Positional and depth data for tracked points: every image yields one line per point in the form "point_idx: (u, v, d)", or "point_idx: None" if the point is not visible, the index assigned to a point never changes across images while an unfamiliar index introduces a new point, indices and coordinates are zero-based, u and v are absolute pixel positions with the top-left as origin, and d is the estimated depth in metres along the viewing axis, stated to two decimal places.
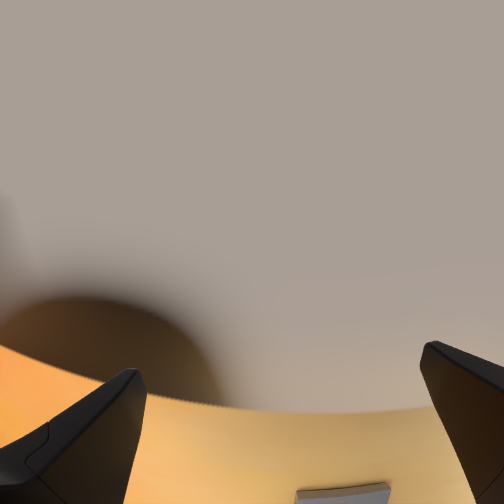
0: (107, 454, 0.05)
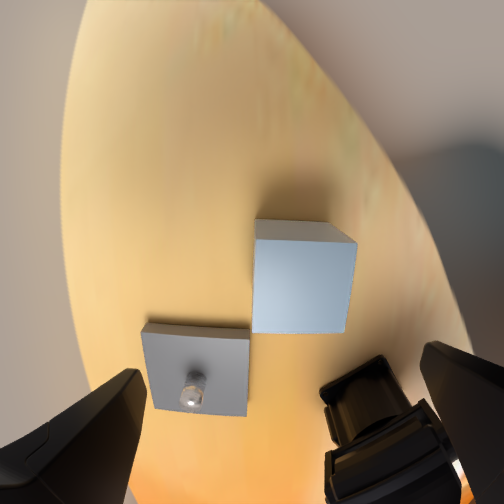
0: (107, 454, 0.05)
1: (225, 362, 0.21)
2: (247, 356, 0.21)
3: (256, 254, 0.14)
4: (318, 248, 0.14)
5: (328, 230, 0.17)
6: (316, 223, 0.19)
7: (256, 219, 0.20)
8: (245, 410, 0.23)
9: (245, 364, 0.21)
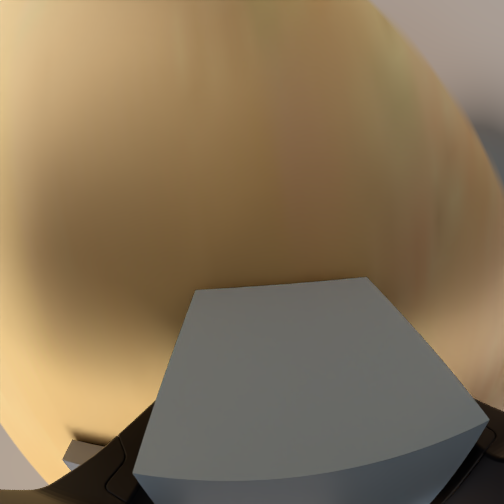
0: None
1: None
2: None
3: (154, 496, 0.03)
4: (368, 475, 0.03)
5: (382, 332, 0.06)
6: (341, 290, 0.08)
7: (198, 292, 0.08)
8: None
9: None
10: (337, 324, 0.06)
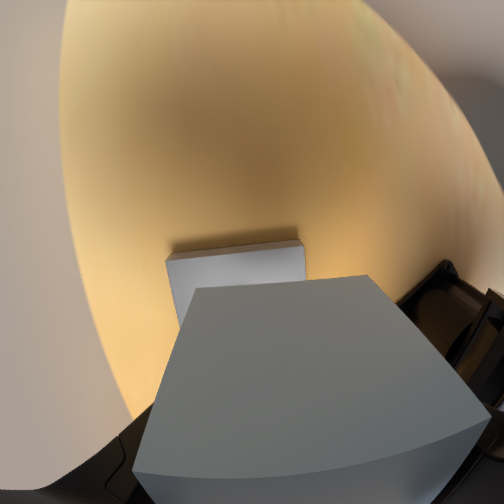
0: None
1: None
2: (303, 270, 0.17)
3: (154, 494, 0.03)
4: (370, 472, 0.03)
5: (383, 329, 0.06)
6: (342, 288, 0.08)
7: (198, 290, 0.08)
8: None
9: None
10: (338, 322, 0.06)
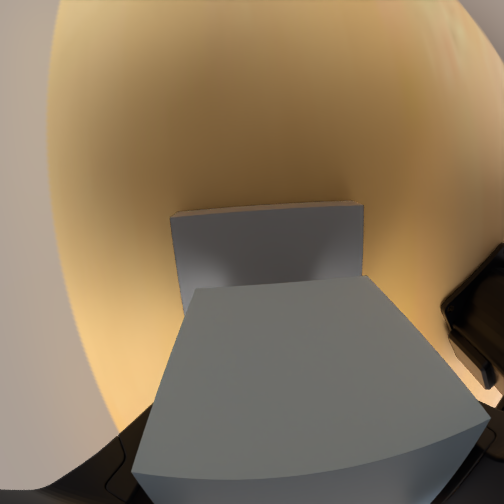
0: None
1: (325, 257, 0.13)
2: (360, 239, 0.12)
3: (153, 495, 0.03)
4: (369, 473, 0.03)
5: (382, 330, 0.06)
6: (341, 288, 0.08)
7: (198, 291, 0.08)
8: None
9: (357, 256, 0.13)
10: (337, 322, 0.06)
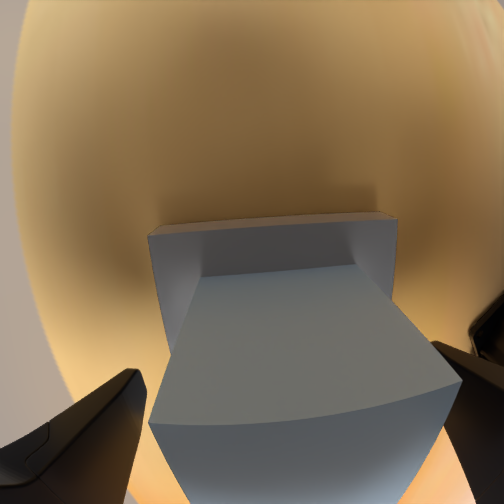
0: (107, 454, 0.05)
1: None
2: (392, 262, 0.09)
3: (165, 449, 0.04)
4: (352, 424, 0.04)
5: (366, 308, 0.07)
6: (332, 275, 0.09)
7: (203, 279, 0.09)
8: None
9: (387, 283, 0.10)
10: (326, 302, 0.07)
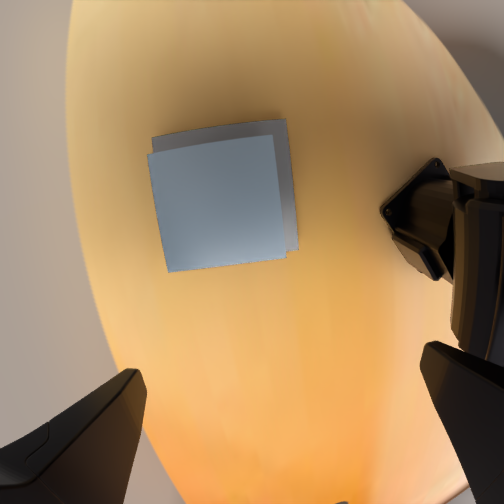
0: (107, 454, 0.05)
1: None
2: (286, 143, 0.17)
3: (151, 172, 0.11)
4: (222, 149, 0.11)
5: None
6: None
7: None
8: (295, 237, 0.18)
9: (286, 155, 0.17)
10: None
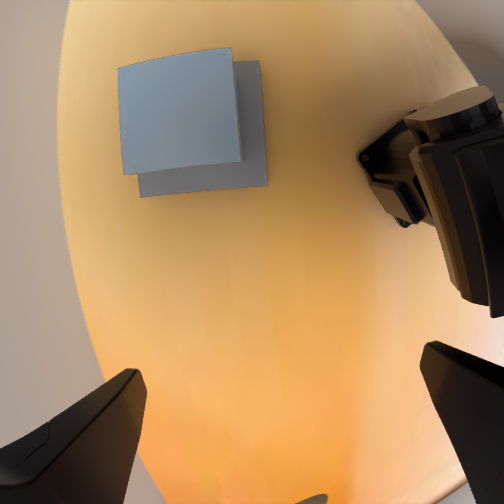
0: (107, 454, 0.05)
1: None
2: (258, 82, 0.16)
3: (119, 82, 0.11)
4: (184, 60, 0.11)
5: None
6: None
7: None
8: (265, 173, 0.18)
9: (257, 93, 0.16)
10: None
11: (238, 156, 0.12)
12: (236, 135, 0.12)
